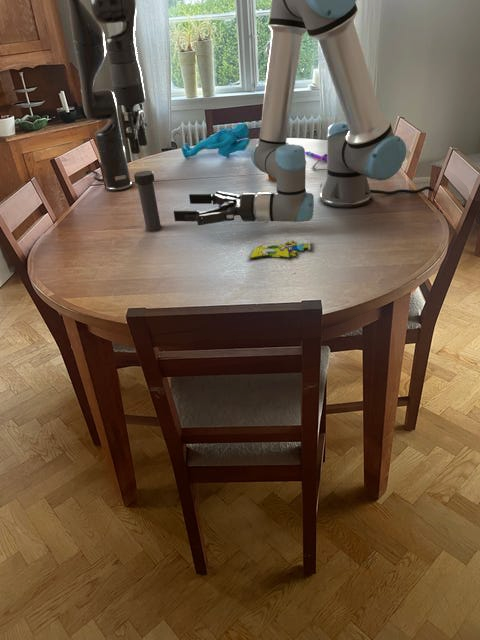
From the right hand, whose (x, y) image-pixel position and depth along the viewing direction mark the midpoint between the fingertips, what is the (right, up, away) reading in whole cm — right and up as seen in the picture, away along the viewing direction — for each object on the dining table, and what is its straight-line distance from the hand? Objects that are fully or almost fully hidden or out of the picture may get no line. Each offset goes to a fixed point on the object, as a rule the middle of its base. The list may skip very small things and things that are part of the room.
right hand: (182, 207), depth 135 cm
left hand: (-11, +14, -6) cm, 19 cm away
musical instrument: (+48, +29, +50) cm, 75 cm away
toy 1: (+6, +39, +72) cm, 82 cm away
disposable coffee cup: (+30, +19, +37) cm, 51 cm away
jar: (-9, -5, +6) cm, 12 cm away
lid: (-10, +8, -2) cm, 14 cm away
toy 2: (+27, -14, -14) cm, 33 cm away
